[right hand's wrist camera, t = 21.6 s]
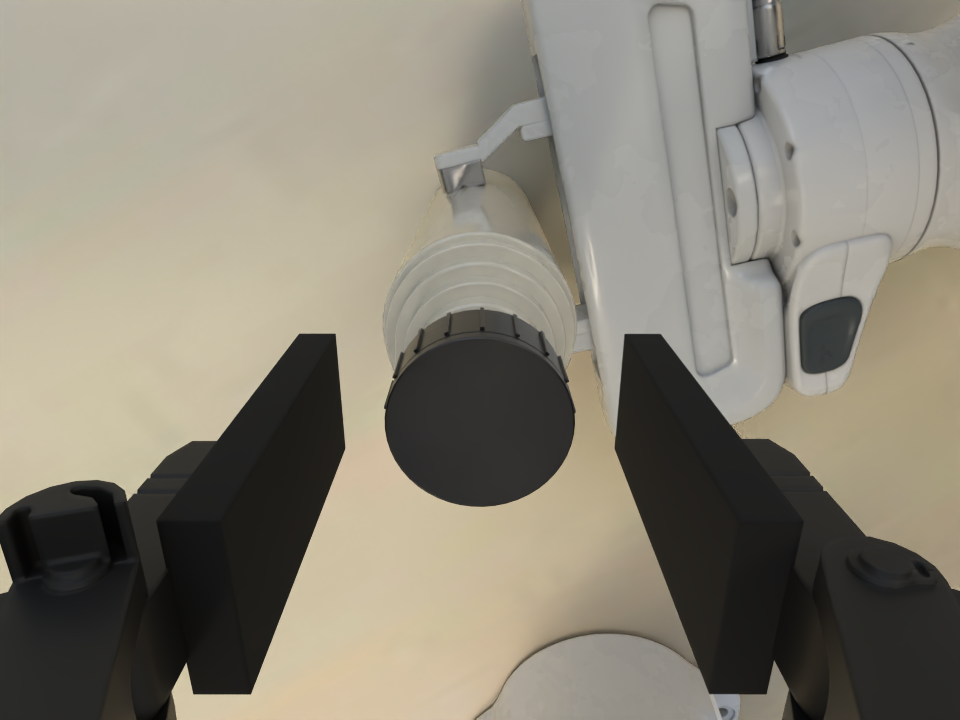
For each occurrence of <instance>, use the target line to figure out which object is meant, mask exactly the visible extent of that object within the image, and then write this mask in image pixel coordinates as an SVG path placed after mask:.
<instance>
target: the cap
mask: <svg viewBox="0 0 960 720" xmlns="http://www.w3.org/2000/svg"><path fill="white" fill-rule="evenodd" d="M393 378H394V381H393V380H392V383H391V386H390V389H389V392H388V396H387V399H386V402H385V405H384V409H386V411H385V432H386V437H387V442H388V445H389V448H390V451H391V453H392V455H393V457H394V459H395V461H396V462H397V464H398V465H399V467H400V468H401V470H402V471H403V472H404V473H405V474H406V475H407V477H408V478H409V479H410V480H411V481H413V482H414V483H415V484H416V485H417V486H418V487H420V488H421V489H423V490H424V491H426V492H427V493H429V494H431V495H433V496H435V497H437V498H439V499H442V500H445V501H447V502H451V503H455V504H459V505H465V506H476V507H485V506H496V505H501V504H506V503H509V502H512V501H515V500H518V499H520V498H522V497H525V496H527V495H529V494H530V493H532V492H534V491H535V490H537V489H538V488H540V487H541V486H542V485H544V484H545V483H546V482H547V481H548V480H549V479H550V478H551V477H552V476H553V475H554V474H555V473H556V472H557V470H558V469H559V468H560V466H561V465H562V463H563V462H564V460H565V458H566V456H567V454H568V452H569V449H570V447H571V444H572V440H573V436H574V428H575V415H574V413H575V407H574V404H573V400H572V397H571V394H570V390H569V387H568V385H567V383H568V382H569V380H568V377H567V374H566V370H565V367H564V364H563V361H562V358H561V356H557V354H556V352H555V350H554V348H553V347H552V346H551V344H550V343H549V342H548V340H547V339H546V338H545V334H544V332H543V331H540V332H539V331H538V330H537V329H535V328H534V327H533V326H532V325H530V324H528V323H527V322H525V321H523V320H522V319H520V318H517V315H516V314H513V315H510V314H506V313H503V312H499V311H493V310H484V307H480V310H478V309H476V310H466V311H461V312H457V313H453V314H451V312H449V313H447V316H445V317H442V318H440V319H438V320H436V321H434V322H433V323H431V324H430V325H428V326H427V327H425V328H424V329H422V328H420V329H419V331H418V334H417V335H416V336H415V338H414V339H413V340H412V341H411V342H410V344H409V345H408V347H407V348H406V350H405V351H404V353H403V352H401V353H400V355H399V358H398V362H397V365H396V368H395V371H394V374H393Z"/></svg>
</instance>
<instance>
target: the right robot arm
mask: <svg viewBox="0 0 960 720" xmlns="http://www.w3.org/2000/svg"><path fill="white" fill-rule="evenodd" d="M344 451H345V439H344V427H343V415H342V404H341V392H340V380H339V369H338V357H337V345H336V334H299V335H298V336H297V337H296V339H295V340H294V341H293V343H292V344H291V345H290V347H289V348H288V349H287V350H286V352H285V353H284V354H283V356H282V357H281V358H280V360H279V361H278V362H277V364H276V365H275V366H274V367H273V369H272V370H271V371H270V373H269V374H268V375H267V377H266V378H265V379H264V380H263V382H262V383H261V384H260V386H259V387H258V388H257V390H256V391H255V392H254V394H253V395H252V396H251V397H250V399H249V400H248V401H247V403H246V404H245V405H244V407H243V408H242V409H241V411H240V412H239V413H238V414H237V416H236V417H235V418H234V420H233V421H232V422H231V424H230V425H229V426H228V427H227V429H226V430H225V431H224V433H223V434H222V435H221V437H220V438H219V439H218V441H192V442H190V443H188V444H187V445H185V446H183V447H182V448H180V449H178V450H177V451H175V452H173V453H172V454H170V455H168V456H167V457H166V458H165V459H164V460H163V461H162V462H161V463H160V465H159V466H158V467H157V468H156V469H155V470H154V472H153V473H152V474H151V478H147V480H146V481H145V482H144V483H143V484H142V485H141V486H140V488H139V489H138V490H137V491H138V492H137V494H133V496H132V497H131V498H130V499H129V500H128V501H127V498H126V494H125V490H123V489H122V488H120V487H119V486H118V485H116V484H115V483H111V482H105V481H100V480H90V481H75V482H70V483H66V484H61V485H57V486H52V487H49V488H47V489H44V490H41V491H39V492H36V493H34V494H31V495H29V496H26V497H25V498H23V499H21V500H20V501H18V502H16V503H15V504H13V505H11V506H10V507H8V508H6V509H5V510H4V511H3V512H2V513H1V515H0V544H1V547H2V550H3V553H4V557H5V560H6V563H7V566H8V569H9V572H10V575H11V578H12V581H13V583H12V585H11V587H10V589H9V591H8V592H6V593H2V594H0V720H177V719H176V711H175V705H174V700H173V696H172V692H171V691H172V689H173V687H174V685H175V683H176V681H177V679H178V678H179V676H180V674H181V672H182V670H183V668H184V666H185V664H186V662H187V667H188V671H189V676H190V681H191V685H192V690H193V694H251V693H252V690H253V687H254V685H255V682H256V680H257V677H258V674H259V672H260V669H261V667H262V664H263V661H264V659H265V656H266V654H267V651H268V648H269V646H270V643H271V641H272V638H273V635H274V633H275V630H276V628H277V625H278V622H279V620H280V617H281V615H282V612H283V609H284V607H285V604H286V602H287V599H288V596H289V594H290V591H291V589H292V586H293V583H294V581H295V578H296V576H297V573H298V570H299V568H300V565H301V563H302V560H303V557H304V555H305V552H306V550H307V547H308V544H309V542H310V539H311V537H312V534H313V531H314V529H315V526H316V523H317V521H318V518H319V516H320V513H321V510H322V508H323V505H324V503H325V500H326V497H327V495H328V492H329V490H330V487H331V484H332V482H333V479H334V477H335V474H336V471H337V469H338V466H339V464H340V461H341V458H342V456H343V453H344ZM615 451H616V453H617V456H618V458H619V461H620V464H621V466H622V469H623V471H624V474H625V477H626V479H627V482H628V484H629V487H630V490H631V492H632V495H633V497H634V500H635V503H636V505H637V508H638V510H639V513H640V516H641V518H642V521H643V523H644V526H645V529H646V531H647V534H648V537H649V539H650V542H651V544H652V547H653V550H654V552H655V555H656V557H657V560H658V563H659V565H660V568H661V570H662V573H663V576H664V578H665V581H666V583H667V586H668V589H669V591H670V594H671V596H672V599H673V602H674V604H675V607H676V609H677V612H678V615H679V617H680V620H681V622H682V625H683V628H684V630H685V633H686V635H687V638H688V641H689V643H690V646H691V648H692V651H693V654H694V656H695V659H696V661H697V664H698V667H699V669H700V672H701V674H702V677H703V680H704V682H705V685H706V687H707V690H708V693H709V694H767V690H768V685H769V681H770V676H771V671H772V667H773V662H774V661H775V663H776V664H777V666H778V668H779V670H780V672H781V674H782V676H783V678H784V680H785V682H786V684H787V685H788V687H789V692H788V696H787V700H786V705H785V709H784V713H783V717H782V720H960V591H958V590H954V589H951V588H950V586H949V584H948V582H947V580H946V579H945V578H944V577H943V576H942V574H941V573H940V572H939V571H938V569H937V568H936V567H935V566H934V565H932V564H931V563H929V562H928V561H927V560H925V559H924V558H922V557H921V556H920V555H918V554H917V553H915V552H912V551H910V550H908V549H906V548H904V547H901V546H899V545H897V544H895V543H892V542H888V541H884V540H880V539H877V538H873V537H866V536H865V534H864V533H863V532H862V531H861V530H860V529H859V528H858V527H857V525H856V524H855V523H854V522H853V521H852V520H851V519H850V517H849V516H848V515H847V514H846V513H845V512H844V511H843V510H842V508H841V507H840V506H839V505H838V504H837V503H836V502H835V500H834V499H833V498H832V497H831V496H830V495H829V494H828V492H827V491H823V487H822V486H821V485H820V483H819V482H818V481H817V480H816V479H815V478H814V477H813V476H810V472H809V471H808V470H807V469H806V467H805V466H804V465H803V464H802V463H801V462H800V461H799V460H798V458H797V457H796V456H795V455H794V454H792V453H791V452H789V451H787V450H786V449H784V448H782V447H781V446H779V445H777V444H776V443H774V442H772V441H771V440H769V439H741V438H740V437H739V435H738V434H737V433H736V431H735V430H734V429H733V427H732V426H731V425H730V424H729V422H728V421H727V420H726V418H725V417H724V416H723V414H722V413H721V412H720V411H719V409H718V408H717V407H716V405H715V404H714V403H713V401H712V400H711V399H710V397H709V396H708V395H707V394H706V392H705V391H704V390H703V388H702V387H701V386H700V384H699V383H698V382H697V380H696V379H695V378H694V377H693V375H692V374H691V373H690V371H689V370H688V369H687V367H686V366H685V365H684V364H683V362H682V361H681V360H680V358H679V357H678V356H677V354H676V353H675V352H674V350H673V349H672V348H671V347H670V345H669V344H668V343H667V341H666V340H665V339H664V337H663V336H662V335H661V334H624V345H623V357H622V369H621V380H620V392H619V404H618V415H617V427H616V439H615Z"/></svg>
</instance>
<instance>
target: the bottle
mask: <svg viewBox="0 0 960 720" xmlns="http://www.w3.org/2000/svg"><path fill="white" fill-rule="evenodd" d="M483 170H484V174H485V179H486V184H483V185H479V186H474V187H466V186H464V185H463V186H462V187H461V189H460V190H457V191H454V192H451V193H446V194H445V193H443V191H442V187H440V188H439V189H438V190H437V192H436V193H435V195H434V197H433V199H432V201H431V203H430V205H429V207H428V209H427V212H426V214H425V216H424V218H423V220H422V222H421V224H420V226H419V228H418V231H417V233H416V235H415V237H414V239H413V241H412V243H411V245H410V248H409V250H408V252H407V254H406V256H405V258H404V260H403V262H402V264H401V267H400V269H399V271H398V273H397V275H396V277H395V279H394V281H393V284H392V286H391V288H390V290H389V292H388V296H387V299H386V302H385V307H384V313H383V334H384V341H385V345H386V348H387V352H388V356H389V360H390V362H391V365H392V367H393V369H394V371H395V368H396V365H397V362H398V358H399V355H400V353H401V352H403V353H404V351H405V350H406V348H407V347H408V345H409V344H410V342H411V341H412V340H413V339H414V338H415V336H416V335H417V334H418V331H419V329H420V328H422V329H424V328H425V327H427V326H428V325H430V324H431V323H433V322H434V321H436V320H438V319H440V318H442V317H445V316H447V313H449V312H451V314H453V313H457V312H461V311H466V310H476V309H478V310H480V307H484V310H493V311H499V312H503V313H506V314H510V315H513V314H516V315H517V318H520V319H522V320H523V321H525V322H527V323H528V324H530V325H532V326H533V327H534V328H535V329H537V330H538V331H539V332H540V331H543V332H544V334H545V338H546V339H547V340H548V342H549V343H550V344H551V346H552V347H553V348H554V350H555V352H556V354H557V356H561V358H562V361H563V364H564V367H565V370H566V369H567V367H568V364H569V362H570V359H571V355H572V352H573V348H574V344H575V340H576V332H577V314H576V308H575V303H574V299H573V296H572V293H571V291H570V288H569V286H568V284H567V282H566V280H565V277H564V275H563V273H562V271H561V269H560V267H559V265H558V263H557V260H556V258H555V256H554V254H553V252H552V250H551V248H550V245H549V243H548V241H547V239H546V237H545V235H544V233H543V231H542V228H541V226H540V224H539V222H538V220H537V218H536V216H535V213H534V211H533V209H532V207H531V205H530V203H529V201H528V199H527V196H526V195H525V193H524V192H523V190H522V189H521V188H520V186H519V185H518V184H517V183H516V182H515V181H514V180H512V179H511V178H509V177H508V176H506V175H504V174H503V173H500V172H498V171H495V170H490V169H483Z"/></svg>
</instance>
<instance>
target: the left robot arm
mask: <svg viewBox="0 0 960 720" xmlns="http://www.w3.org/2000/svg"><path fill="white" fill-rule="evenodd" d="M521 5H522V11H523V16H524V21H525V26H526V31H527V36H528V41H529V46H530V51H531V56H532V61H533V66H534V71H535V76H536V81H537V86H538V91H539V96H540V97H539V98H535V99H532V100H528V101H524V102H521V103H517V104H513V105H511V106H510V107H509V108H508V109H507V110H506V111H505V112H504V113H503V114H502V115H501V116H500V117H499V118H498V119H497V120H496V121H495V122H494V123H493V124H492V125H491V126H490V127H489V128H488V129H487V131H486V132H485V133H484V134H483V135H482V136H481V137H480V138H479V139H478V140H477V143H476V144H472V145H469V146H465V147H461V148H457V149H453V150H449V151H446V152H443V153H440V154H437V155H435V156H434V161H435V165H436V169H437V173H438V176H439V180H440V183H441V187H442V191H443V193H445V194H446V193H451V192H454V191H457V190H460V189H461V187H462V186H463V185H464V186H466V187H474V186H479V185H483V184H486V179H485V174H484V170H483V165H482V163H483V162H484V161H485V160H486V159H487V158H488V157H489V156H490V155H491V154H492V153H493V152H494V151H495V150H496V149H497V148H498V147H499V146H500V145H501V144H502V143H503V142H504V141H505V140H506V139H507V138H508V137H509V136H510V135H511V134H512V133H513V132H514V131H515V130H516V129H517V128H518V132H519V136H520V138H521V139H522V140H524V141H526V142H527V141H531V140H535V139H539V138H543V137H547V136H548V141H549V146H550V151H551V156H552V161H553V166H554V171H555V176H556V181H557V186H558V191H559V196H560V201H561V206H562V211H563V216H564V221H565V226H566V231H567V236H568V241H569V246H570V251H571V257H572V262H573V267H574V272H575V277H576V282H577V287H578V292H579V297H580V302H581V305H577V306H575V308H576V314H577V332H576V340H575V344H574V348H573V352H572V354H573V353H577V352H582V351H586V350H590V352H591V357H592V362H593V367H594V372H595V377H596V382H597V387H598V392H599V397H600V402H601V407H602V410H603V413H604V416H605V419H606V422H607V424H608V426H609V428H610V431H611V433H612V435H613V436H614V437H615V438H616V427H617V415H618V404H619V392H620V380H621V369H622V357H623V345H624V334H661V335H662V336H663V337H664V339H665V340H666V341H667V343H668V344H669V345H670V347H671V348H672V349H673V350H674V352H675V353H676V354H677V356H678V357H679V358H680V360H681V361H682V362H683V364H684V365H685V366H686V367H687V369H688V370H689V371H690V373H691V374H692V375H693V377H694V378H695V379H696V380H697V382H698V383H699V384H700V386H701V387H702V388H703V390H704V391H705V392H706V394H707V395H708V396H709V397H710V399H711V400H712V401H713V403H714V404H715V405H716V407H717V408H718V409H719V411H720V412H721V413H722V414H723V416H724V417H725V418H726V420H727V421H728V422H729V424H730V425H734V424H736V423H739V422H742V421H745V420H747V419H749V418H751V417H753V416H755V415H757V414H759V413H761V412H762V411H764V410H765V409H766V408H767V407H769V406H770V405H771V404H772V403H773V402H774V401H775V399H776V398H777V397H778V395H779V394H780V392H781V390H782V387H783V384H786V385H787V386H788V387H790V388H791V389H793V390H794V391H796V392H797V393H799V394H800V395H803V396H818V395H824V394H828V393H831V392H834V391H836V390H838V389H839V388H841V387H842V386H843V385H844V383H845V382H846V380H847V379H848V376H849V374H850V371H851V368H852V365H853V362H854V358H855V355H856V351H857V348H858V345H859V341H860V338H861V335H862V332H863V329H864V325H865V322H866V319H867V316H868V314H869V311H870V308H871V305H872V302H873V300H874V297H875V294H876V292H877V289H878V287H879V285H880V282H881V280H882V278H883V275H884V273H885V271H886V269H887V266H888V264H889V263H891V262H895V261H898V260H900V259H903V258H905V257H907V256H909V255H911V254H913V253H916V252H918V251H921V250H924V249H927V248H932V247H950V248H955V249H959V250H960V14H958V15H956V16H955V17H953V18H951V19H949V20H948V21H946V22H944V23H943V24H941V25H939V26H937V27H934V28H932V29H929V30H926V31H922V32H915V33H898V32H883V33H873V34H868V35H864V36H860V37H856V38H852V39H848V40H844V41H841V42H837V43H833V44H829V45H825V46H821V47H818V48H814V49H810V50H806V51H802V52H799V53H794V54H790V55H788V54H786V50H785V36H784V24H783V11H782V4H781V2H780V0H521ZM757 59H758V61H757ZM754 61H757V62H755V63H756V64H754V65H752V64H751V62H754ZM740 705H741V698H740V694H709V693H708V690H707V687H706V685H705V682H704V680H703V677H702V674H701V672H700V669H698V668H697V667H695V666H693V665H692V664H690V663H689V662H688V661H686V660H685V659H684V658H683V657H681V656H680V655H679V654H677V653H676V652H674V651H673V650H671V649H669V648H668V647H666V646H664V645H662V644H659V643H657V642H654V641H652V640H649V639H645V638H641V637H637V636H632V635H625V634H592V635H585V636H580V637H575V638H571V639H567V640H564V641H561V642H558V643H556V644H553V645H551V646H549V647H547V648H545V649H543V650H541V651H539V652H537V653H536V654H534V655H533V656H531V657H530V658H529V659H527V660H526V661H525V662H523V663H522V664H521V665H520V666H519V667H518V668H517V669H516V670H515V671H514V672H513V673H512V675H511V676H510V677H509V679H508V680H507V681H506V683H505V685H504V687H503V689H502V691H501V693H500V695H499V697H498V699H497V700H496V702H495V703H494V705H493V706H492V707H491V708H490V709H489V710H487V711H486V712H485V713H483V714H482V715H481V716H480V717H478V718H477V719H476V720H738V719H739V712H740Z"/></svg>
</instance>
